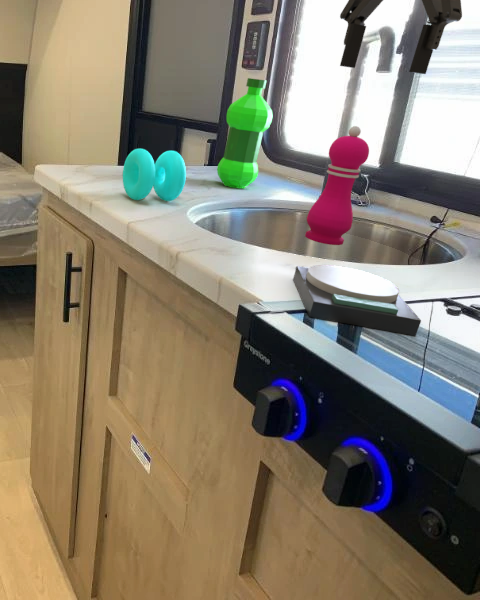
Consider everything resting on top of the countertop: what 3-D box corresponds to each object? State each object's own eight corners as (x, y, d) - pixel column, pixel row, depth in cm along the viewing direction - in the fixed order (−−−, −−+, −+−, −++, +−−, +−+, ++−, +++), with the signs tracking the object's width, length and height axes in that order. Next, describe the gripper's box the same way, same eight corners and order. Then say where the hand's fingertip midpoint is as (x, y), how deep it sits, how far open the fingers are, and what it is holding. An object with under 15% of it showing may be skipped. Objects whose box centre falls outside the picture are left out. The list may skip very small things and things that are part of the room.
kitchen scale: (382, 294, 82) (389, 274, 81) (415, 336, 69) (424, 312, 68) (293, 279, 83) (298, 259, 82) (308, 317, 71) (315, 293, 69)
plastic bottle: (205, 180, 151) (226, 75, 142) (241, 182, 154) (264, 80, 145) (225, 189, 142) (249, 78, 133) (263, 191, 146) (289, 83, 136)
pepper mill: (330, 253, 99) (367, 129, 91) (292, 240, 104) (324, 121, 96) (352, 249, 103) (388, 130, 96) (314, 237, 108) (346, 123, 101)
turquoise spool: (183, 206, 119) (193, 156, 115) (138, 205, 115) (147, 153, 111) (159, 194, 127) (167, 146, 123) (117, 193, 123) (124, 143, 120)
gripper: (341, -79, 96) (306, 62, 104) (491, -106, 76) (434, 73, 83) (373, -70, 99) (338, 67, 107) (527, -92, 79) (468, 78, 87)
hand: (380, 70), depth 95 cm, fingers open, 13 cm apart
